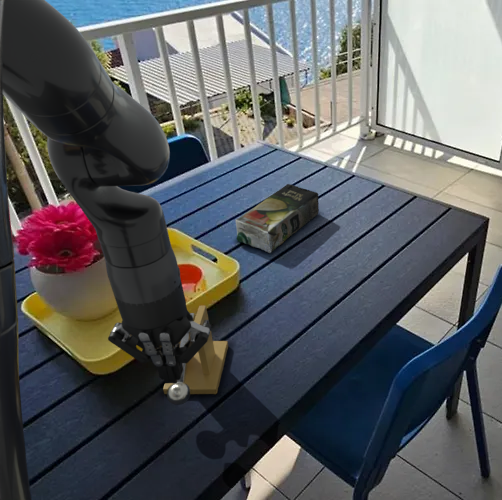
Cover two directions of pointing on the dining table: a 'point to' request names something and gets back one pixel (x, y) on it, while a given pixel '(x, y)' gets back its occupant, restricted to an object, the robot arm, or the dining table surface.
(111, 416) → the dining table surface
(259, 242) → the juice carton
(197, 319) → the bracket
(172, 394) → the tap lever
